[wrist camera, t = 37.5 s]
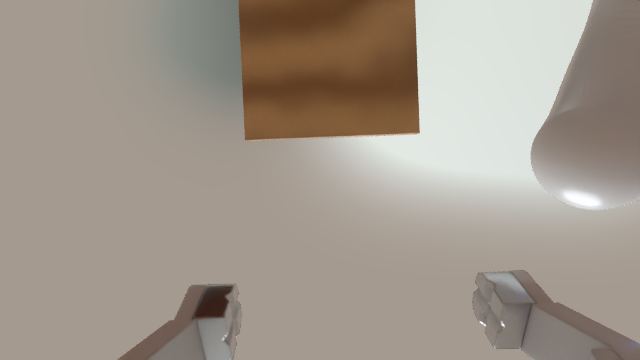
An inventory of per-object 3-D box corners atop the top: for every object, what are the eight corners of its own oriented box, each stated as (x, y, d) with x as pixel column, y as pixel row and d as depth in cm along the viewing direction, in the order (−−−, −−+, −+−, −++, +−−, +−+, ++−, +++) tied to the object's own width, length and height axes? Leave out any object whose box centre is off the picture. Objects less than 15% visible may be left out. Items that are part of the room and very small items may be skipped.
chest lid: (245, 140, 27) (256, 145, 32) (419, 133, 27) (403, 139, 32) (231, -148, 26) (245, -97, 31) (409, -155, 26) (394, -102, 31)
